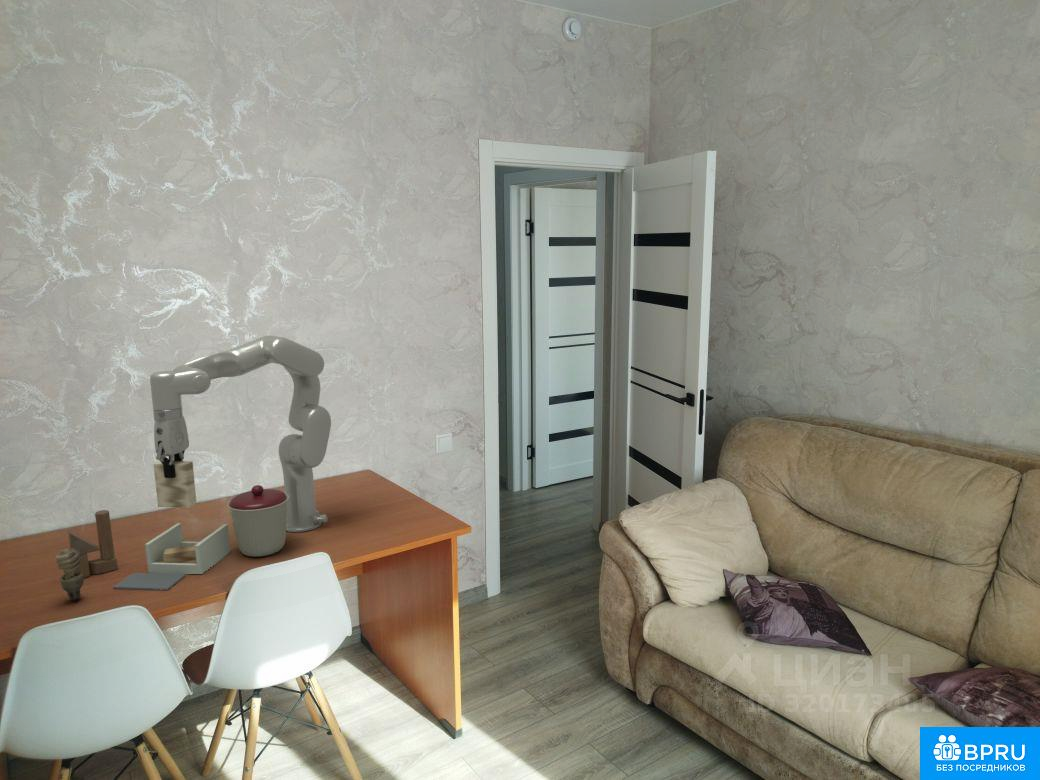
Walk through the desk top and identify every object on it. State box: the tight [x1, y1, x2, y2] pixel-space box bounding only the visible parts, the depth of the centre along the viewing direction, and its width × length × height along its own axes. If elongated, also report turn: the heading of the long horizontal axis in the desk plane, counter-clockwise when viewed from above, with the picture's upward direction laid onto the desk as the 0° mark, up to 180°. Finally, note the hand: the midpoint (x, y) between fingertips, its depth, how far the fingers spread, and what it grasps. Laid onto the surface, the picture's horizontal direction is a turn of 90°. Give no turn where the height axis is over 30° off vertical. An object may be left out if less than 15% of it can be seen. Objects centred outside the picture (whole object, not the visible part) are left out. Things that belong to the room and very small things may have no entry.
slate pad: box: [112, 572, 187, 591], centre depth 206 cm, size 16×9×1 cm, turn 84°
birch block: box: [153, 460, 198, 509], centre depth 214 cm, size 10×4×13 cm, turn 83°
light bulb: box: [55, 547, 85, 602], centre depth 195 cm, size 6×6×15 cm
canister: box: [226, 484, 289, 558], centre depth 225 cm, size 18×18×21 cm
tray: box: [144, 522, 231, 575], centre depth 219 cm, size 16×17×9 cm
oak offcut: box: [163, 545, 196, 563], centre depth 216 cm, size 10×4×3 cm, turn 109°
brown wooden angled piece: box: [67, 509, 119, 579], centre depth 212 cm, size 4×11×18 cm, turn 129°
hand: (174, 474), depth 213 cm, fingers closed on birch block, 3 cm apart
